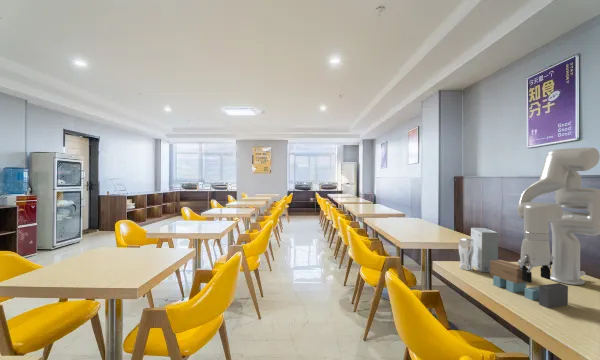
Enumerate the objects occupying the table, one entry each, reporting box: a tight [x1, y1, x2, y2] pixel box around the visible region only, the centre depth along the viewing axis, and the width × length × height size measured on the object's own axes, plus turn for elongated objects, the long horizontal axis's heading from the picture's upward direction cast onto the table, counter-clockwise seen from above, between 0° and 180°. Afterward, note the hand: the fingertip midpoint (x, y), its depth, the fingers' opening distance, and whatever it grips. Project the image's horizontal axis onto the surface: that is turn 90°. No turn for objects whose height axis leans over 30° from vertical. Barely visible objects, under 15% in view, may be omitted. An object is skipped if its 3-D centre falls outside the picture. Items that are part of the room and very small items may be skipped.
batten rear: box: [492, 275, 506, 288], centre depth 128 cm, size 7×3×4 cm, turn 106°
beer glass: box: [458, 237, 474, 271], centre depth 151 cm, size 7×7×15 cm
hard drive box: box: [470, 227, 499, 273], centre depth 152 cm, size 16×8×20 cm, turn 168°
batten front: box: [505, 280, 527, 294], centre depth 122 cm, size 7×3×4 cm, turn 106°
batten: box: [524, 286, 539, 301], centre depth 115 cm, size 7×3×4 cm, turn 106°
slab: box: [489, 259, 528, 284], centre depth 125 cm, size 6×12×6 cm, turn 16°
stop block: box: [538, 282, 569, 309], centre depth 108 cm, size 10×3×7 cm, turn 106°
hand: (536, 279), depth 115 cm, fingers open, 9 cm apart
